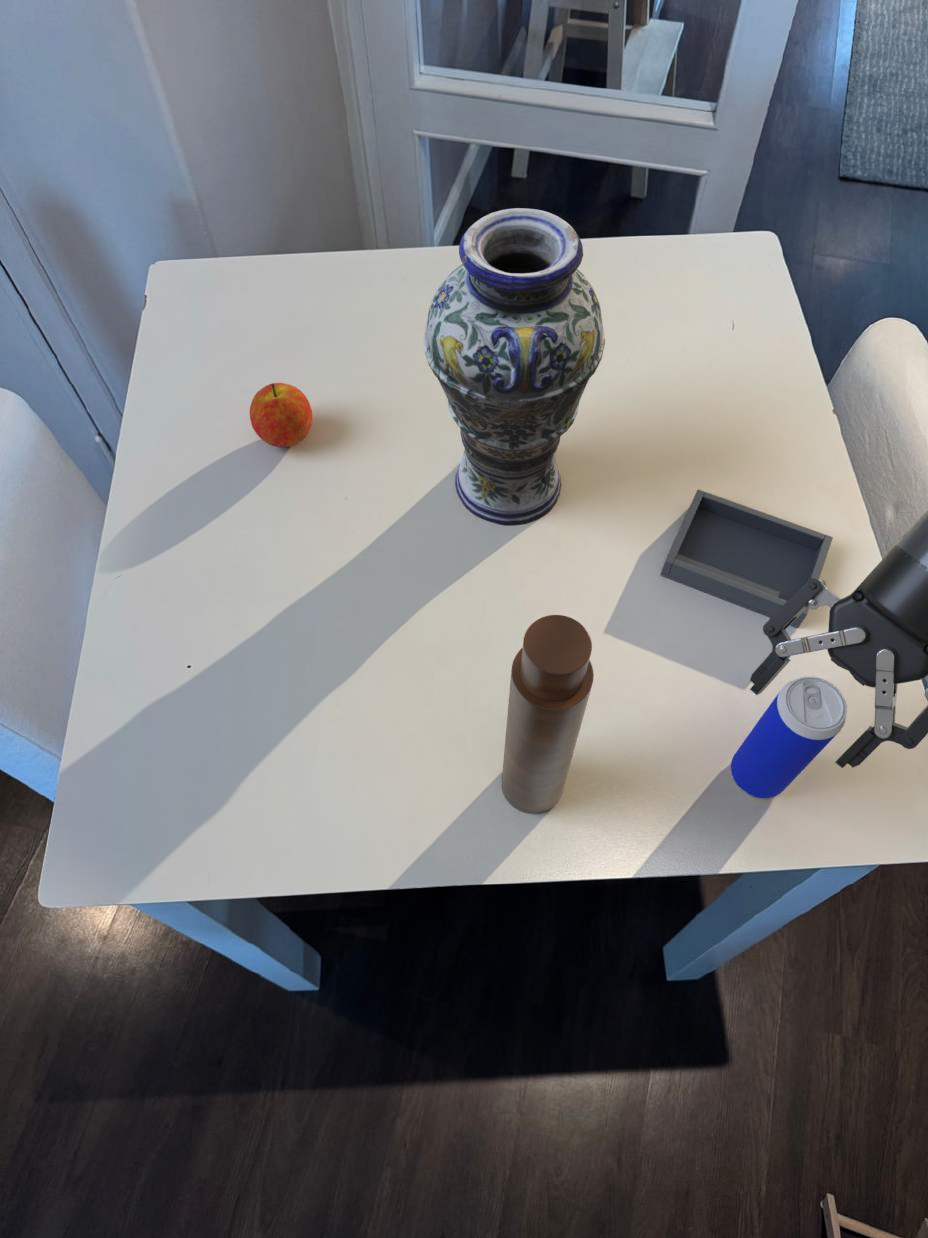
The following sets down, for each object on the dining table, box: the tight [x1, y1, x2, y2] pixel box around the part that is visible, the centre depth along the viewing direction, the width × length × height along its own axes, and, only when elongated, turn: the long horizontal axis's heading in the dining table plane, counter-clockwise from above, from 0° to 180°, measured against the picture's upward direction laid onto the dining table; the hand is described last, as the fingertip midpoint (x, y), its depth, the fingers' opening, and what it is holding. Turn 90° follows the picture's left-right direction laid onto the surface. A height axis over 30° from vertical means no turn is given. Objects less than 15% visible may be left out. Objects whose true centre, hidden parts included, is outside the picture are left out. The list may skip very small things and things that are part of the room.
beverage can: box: [730, 676, 848, 799], centre depth 70 cm, size 5×5×15 cm
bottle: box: [501, 614, 594, 815], centre depth 65 cm, size 6×6×26 cm
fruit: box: [249, 382, 313, 448], centre depth 94 cm, size 7×7×8 cm
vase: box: [423, 207, 606, 526], centre depth 81 cm, size 17×17×30 cm
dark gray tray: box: [660, 488, 834, 629], centre depth 87 cm, size 15×11×3 cm
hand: (796, 727), depth 69 cm, fingers open, 8 cm apart
